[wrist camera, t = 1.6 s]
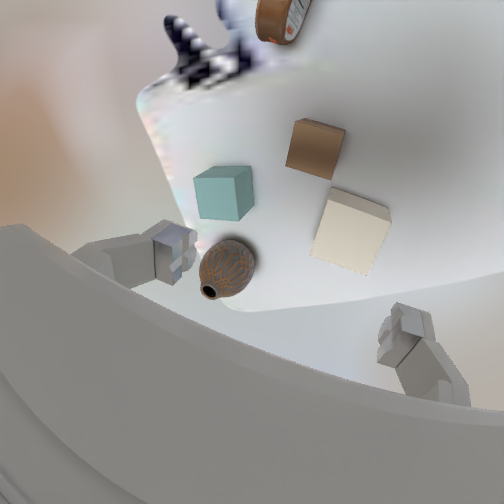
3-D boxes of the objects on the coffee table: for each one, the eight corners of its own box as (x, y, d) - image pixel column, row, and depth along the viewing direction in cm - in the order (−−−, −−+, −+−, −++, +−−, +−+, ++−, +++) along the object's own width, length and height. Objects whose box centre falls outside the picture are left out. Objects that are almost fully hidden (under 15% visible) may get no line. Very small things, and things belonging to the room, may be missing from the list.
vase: (232, 279, 42) (205, 317, 35) (207, 242, 40) (174, 276, 33) (269, 267, 38) (246, 309, 32) (244, 225, 36) (213, 261, 29)
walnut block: (304, 118, 27) (295, 121, 23) (345, 130, 26) (343, 135, 22) (296, 156, 29) (285, 166, 25) (334, 168, 28) (330, 180, 24)
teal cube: (213, 166, 33) (193, 178, 30) (250, 166, 32) (233, 177, 28) (218, 202, 36) (200, 218, 32) (254, 204, 34) (238, 221, 30)
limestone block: (331, 187, 29) (327, 199, 26) (388, 208, 28) (391, 223, 25) (315, 238, 34) (309, 255, 30) (366, 257, 32) (366, 275, 29)
